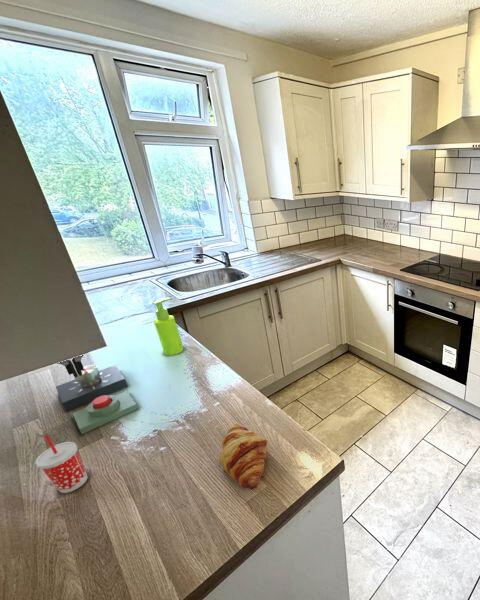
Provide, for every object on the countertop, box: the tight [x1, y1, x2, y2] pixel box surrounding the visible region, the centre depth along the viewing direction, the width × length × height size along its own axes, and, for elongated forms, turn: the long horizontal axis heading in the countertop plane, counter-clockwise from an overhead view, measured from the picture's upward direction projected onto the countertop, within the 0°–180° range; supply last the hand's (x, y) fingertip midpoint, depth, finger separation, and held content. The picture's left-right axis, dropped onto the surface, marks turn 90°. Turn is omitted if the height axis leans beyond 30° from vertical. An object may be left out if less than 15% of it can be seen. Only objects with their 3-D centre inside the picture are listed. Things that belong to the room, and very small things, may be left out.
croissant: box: [218, 423, 268, 490], centre depth 76 cm, size 21×10×8 cm, turn 36°
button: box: [91, 394, 111, 409], centre depth 89 cm, size 4×4×2 cm
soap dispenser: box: [152, 297, 184, 356], centre depth 116 cm, size 6×7×20 cm
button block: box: [72, 390, 139, 435], centre depth 90 cm, size 12×9×4 cm
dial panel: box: [55, 364, 129, 412], centre depth 98 cm, size 14×11×3 cm
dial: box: [74, 364, 102, 388], centre depth 97 cm, size 5×5×5 cm
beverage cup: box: [35, 434, 88, 494], centre depth 68 cm, size 6×6×14 cm
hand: (77, 374), depth 85 cm, fingers closed
